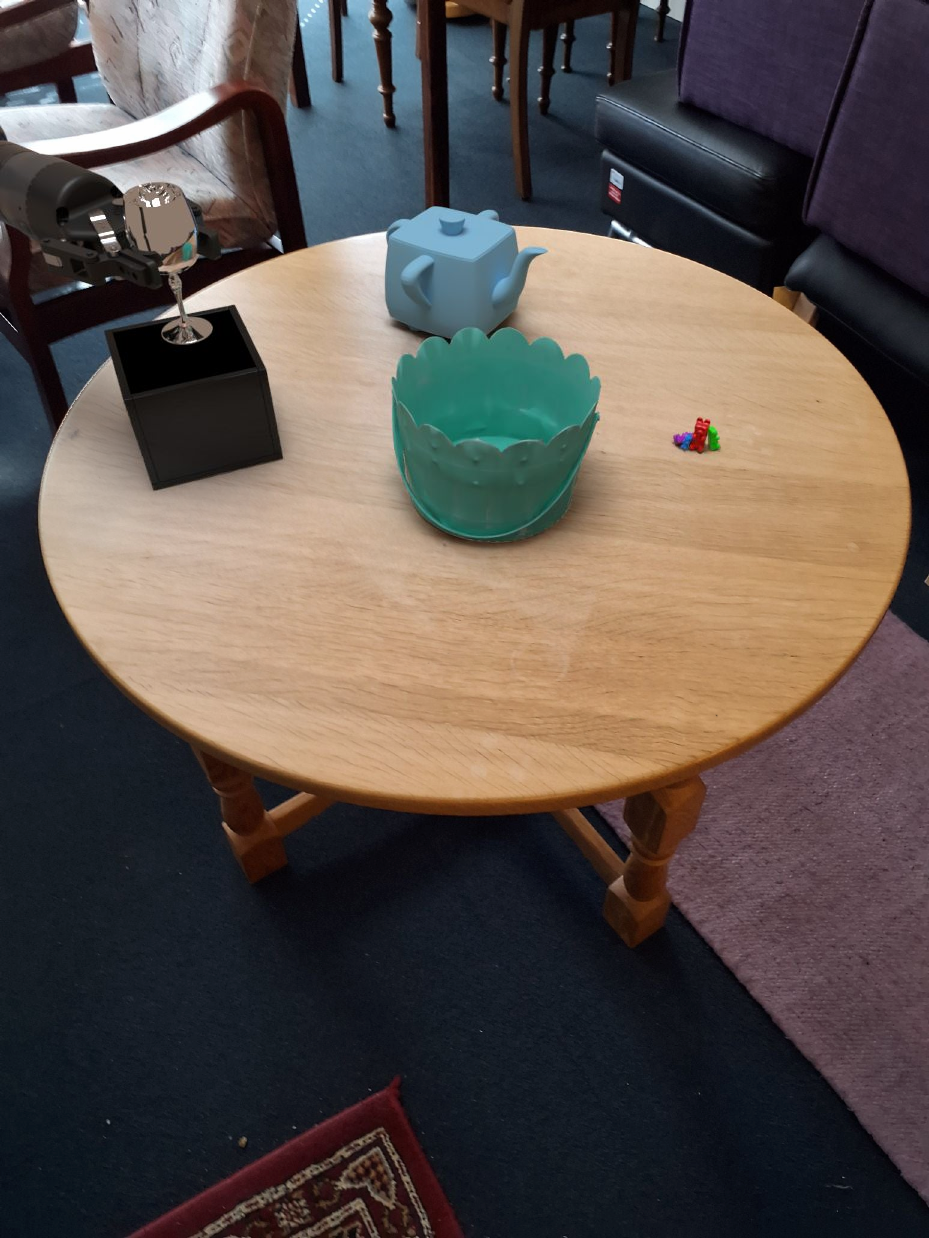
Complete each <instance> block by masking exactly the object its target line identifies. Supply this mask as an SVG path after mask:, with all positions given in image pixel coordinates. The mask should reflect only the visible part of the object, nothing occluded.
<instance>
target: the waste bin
mask: <svg viewBox="0 0 929 1238" xmlns="http://www.w3.org/2000/svg"><path fill="white" fill-rule="evenodd" d="M186 315H187V317H197V318H202V319H205V320H207V321H209V322H210V323H211V325H212V332H211V334H210V335H209V336H208V337H207V338H205V339H203V340H201V341H199V342H196V343H192V344H173V343H170V342H168V341H166V340H165V339H164V338H163V337H162V329H163V328H164V326H165V325H167V324H168V323H170V322H172V321H174V320H177V319H180V314H179V315H175V316H170V317H165V318H159V319H154V320H150V321H144V322H139V323H135V324H130V325H124V326H118V327H115V328H114V327H113V328H110V329H109V328H108V329H104V330H103V333H104V336H105V340H106V344H107V348H108V351H109V355H110V358H111V361H112V365H113V369H114V373H115V377H116V379H117V383H118V387H119V390H120V394H121V397H122V401H123V404H124V406H125V407H124V408H125V410H126V413H127V416H128V419H129V422H130V425H131V428H132V431H133V434H134V437H135V440H136V443H137V445H138V450H139V452H140V455H141V458H142V461H143V464H144V467H145V469H146V473H147V475H148V478H149V481H150V484H151V488H152V490H153V491H157V490H161V489H166V488H170V487H175V486H177V485H182V484H185V483H190V482H194V481H198V480H202V479H206V478H210V477H214V476H218V475H223V474H226V473H231V472H233V471H234V472H235V471H238V470H242V469H247V468H251V467H254V466H259V465H262V464H267V463H271V462H274V461H279V460H282V459H284V453H283V449H282V443H281V439H280V434H279V433H280V432H279V428H278V422H277V418H276V411H275V406H274V402H273V397H272V392H271V390H272V389H271V385H270V381H269V377H268V376H269V375H268V370H267V367H266V365H265V363H264V361H263V359H262V357H261V355H260V352H259V351H258V348H257V347H256V344H255V342H254V341H253V338H252V337H251V335H250V332H249V330H248V329H247V327H246V324H245V322H244V321H243V319H242V316H241V314H240V312H239V310H238V307H237V306H236V304H230V305H224V306H220V307H215V308H208V309H204V310H199V311H195V312H190V313H186Z"/></svg>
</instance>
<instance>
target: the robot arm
mask: <svg viewBox="0 0 929 1238" xmlns="http://www.w3.org/2000/svg"><path fill="white" fill-rule="evenodd" d="M123 195H124V192H122V190H121V189H120V188H119V187H118V186H117V185H116V184H115V183H114V182H113V181H112V180H110V179H109V178H107V177H106V176H104V175H103V174H99V173H97V172H94V171H92V170H89V169H87V168H84V167H82V166H81V165H76V164H74V163H72V162H69V161H67V160H65V159H62V158H60V157H57V156H54V155H51V154H45V153H40V152H37V151H35V150H32V149H30V148H27V147H25V146H23V145H21V144H17V143H15V142H12V141H9V140H8V136H7V134H6V132H5V130H4V128H3V127H2V125H1V124H0V222H2V223H3V224H6V225H8V226H10V227H12V228H14V229H16V230H18V231H20V232H21V233H22V234H24V235H25V236H26V237H28V238H30V239H32V240H34V241H36V242H38V244H39V247H40V249H41V253H42V255H43V258H44V261H45V263H46V266H47V269H48V271H49V272H50V273H52V274H56V275H59V276H62V277H65V278H68V279H72V280H74V281H78V282H80V283H83V284H87V285H90V286H93V287H101V286H104V285H106V284H107V283H108V282H107V279H108V278H112V277H113V278H114V279H115V280H116V281H123V280H126V281H128V282H131V283H132V284H135V285H137V286H139V287H146V288H149V289H151V290H153V291H154V290H157V289H159V288H161V287H162V286H163V281H162V276H161V274H160V272H159V268H158V266H157V264H156V262H155V261H153V260H151V259H149V258H147V257H145V256H142V255H140V254H137V253H135V252H134V251H131V250H130V248H129V245H128V241H127V237H126V233H125V226H124V217H123ZM186 198H187V200H188V202H189V205H190V207H191V210H192V212H193V214H194V217H195V220H196V222H197V226H198V230H199V234H200V253H199V256H202V257H204V258H206V259H209V260H211V261H215V260H218V259H220V258H221V257H222V255H223V254H222V248H221V242H220V237H219V233H218V232H217V231H216V230H213V229H211V228H209V227H206V225H205V221H204V216H203V209H202V205H200V204H198V203H196V202H194V201H193V200H191V199H190V198H188V197H186Z"/></svg>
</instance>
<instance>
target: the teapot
mask: <svg viewBox="0 0 929 1238" xmlns="http://www.w3.org/2000/svg"><path fill="white" fill-rule="evenodd" d="M385 237H386V238H385V240H386V244H387V247H386V256H385V267H384V298H385V299H384V300H385V305H386V308H387V311H388V314H389V316H390V317H391V318H392V319H393V320H394V321H395V320H396V321H397V322H400V323H402V324H405V325H407V327H408V328H409V329H410V330H411V331H416V332H417V331H418V332H419V331H421V332H422V331H423V332H426V333H429V334H433V335H435V336H438V337H441V338H445V339H450V342H451V341H452V339H453V337H454V336H455V334H456V333H457V332H458V331H460V330H462V329H464V328H470V327H472V328H478V329H479V330H481V331H482V332H483V333H485V334H486V336H488V335H489V334H490V333H491V332H492V331H494V330H495V329H496V328H497V327H498V326H500V325H501V324H502V323H503V322H504V321H505V320H506V319H507V318H508V317H509V316H511V314H512V313H514V311H515V310H516V309H517V306H518V303H519V299H520V296H521V295H522V293H523V291H524V288H525V285H526V282H527V277H528V271H529V268H530V265H531V263H532V262H533V260H534V259H536V258H537V257H539V256H541V255H544V254H547V253H548V249H547V248H544V247H542V246H541V247H540V246H528V247H524V248H523V249H522V250H520V251H519V246H518V239H517V232H516V229H515V228H514V227H513V226H512V225H510V224H507V223H504V222H501V221H500V217H499V214H498V212H497V211H496V210H493V209H486V210H482V211H481V212H480V213H478V214H473V213H470V212H467V211H461V210H457V209H452V208H448V207H444V206H431V207H429V208H428V209H426V210H424V211H422V212H421V213H419V214H417V215H416V216H415V217H413V218H412V219H408V218H401V219H397V220H395V221H394V222H392V223H391V224H390V226H389V227H388V228H387V230H386V233H385Z"/></svg>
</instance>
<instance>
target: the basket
mask: <svg viewBox="0 0 929 1238" xmlns="http://www.w3.org/2000/svg"><path fill="white" fill-rule="evenodd" d="M589 365H590V364H589V362H588V361H587V358H586V357H585V356H584V355H583V354H581V353H577V352H576V353H571V354H569V355H568V356H566V357H565V355H564V352H563V350H562V347H561V346H560V345H559V343H558V342H557V341H556V340H554V339H553V338H551V337H548V336H540V337H538V338H536V339H534V340H533V341H531V343H530V344H529V341H528V339H527V338H526V336H525V335H524V333H522V332H521V331H519V330H518V329H516V328H513V327H502V328H500V329H497V330H496V331H495V332H494V333H493V334H492V335H491V336H490V338H489V337H488V335H486V334H485V333H483V332H482V331H481V330H479V329H478V328H472V327H470V328H464V329H462V330H460V331H458V332H457V333H456V334H455V336H454V337H453V339H452V341H451V340H450V343H448V342H447V340H446V339H444V337H441V336H439V335H435V336H430V337H428V338H426V339H425V340H423V341H422V343H421V344H420V345H419V347H418V350H417V352H416V357H415V356H414V355H413V354H411V353H409V352H408V353H407V352H406V353H403V354H402V355H401V356H400V357H399V359H398V361H397V365H396V372H395V375H396V377H395V376H391V377H390V381H391V383H390V384H391V387H392V388H391V395H392V396H391V398H392V399H391V400H392V401H391V424H392V440H393V448H394V454H395V459H396V463H397V466H398V470H399V473H400V476H401V479H402V481H403V483H404V486H405V488H406V490H407V492H408V494H409V496H410V499H411V503H412V505H413V506H414V509H415V510H417V512H418V514H419V515H420V516H421V517H422V518H423V520H426V522H427V523H429V524H430V525H433V527H434V528H436V529H439V530H440V531H441V532H444V533H446V534H448V535H450V536H454V537H456V538H461V539H464V540H467V541H470V540H471V541H472V542H481V543H490V544H491V543H492V544H495V543H506V542H510V543H511V542H514V541H521V540H524V539H528V538H530V537H534V536H537V535H538V534H540V533H544V532H545V531H546V530H548V529H550V528H552V526H555V525H556V524H557V523H558V522H559V521H560V520H561V519H562V518H563V517H564V516H565V515H566V513H567V511H568V510H569V508H570V506H571V504H572V501H573V497H574V491H575V489H576V485H577V481H578V476H579V473H580V469H581V466H582V462H583V460H584V457H585V455H586V453H587V450H588V448H589V446H590V443H591V440H592V438H593V434H594V431H595V429H596V425H597V423H598V422H600V419H601V415H600V411H597V412H596V410H597V406H598V404H599V399H600V394H601V388H602V383H601V379H600V377H599V376H597V375H594V376H593V377H592V378H591V370H590V366H589Z"/></svg>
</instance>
